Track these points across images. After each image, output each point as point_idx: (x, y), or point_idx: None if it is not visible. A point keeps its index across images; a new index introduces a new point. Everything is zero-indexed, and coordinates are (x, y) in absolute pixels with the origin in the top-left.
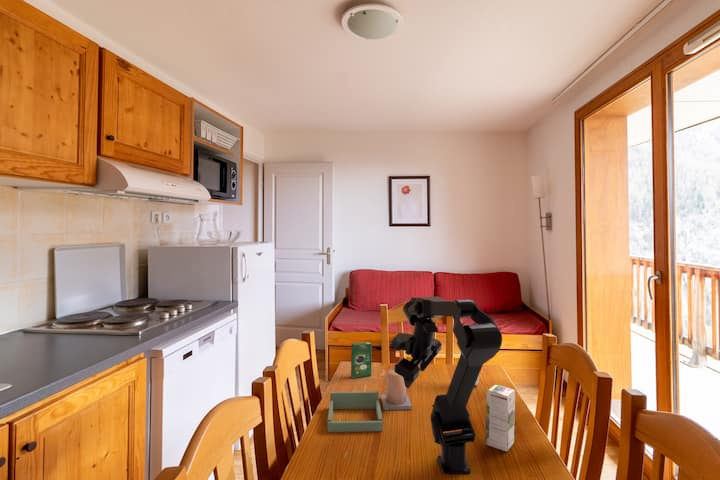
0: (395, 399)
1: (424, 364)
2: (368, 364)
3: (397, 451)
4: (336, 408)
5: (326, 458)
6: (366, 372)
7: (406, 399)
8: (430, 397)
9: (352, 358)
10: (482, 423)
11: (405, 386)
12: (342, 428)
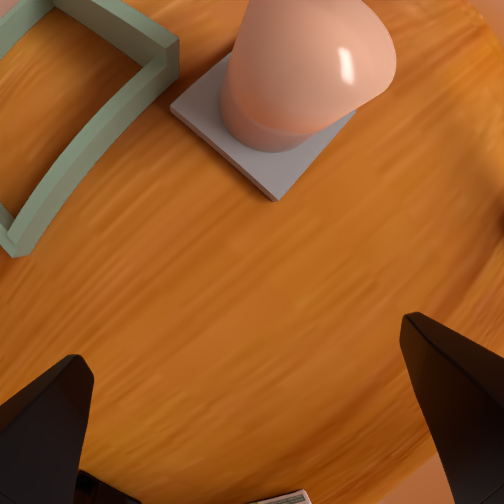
0: (233, 124)
1: (444, 415)
2: None
3: (4, 377)
4: (60, 9)
5: None
6: None
7: (313, 138)
8: (413, 189)
9: None
10: (356, 434)
11: (67, 359)
12: None
